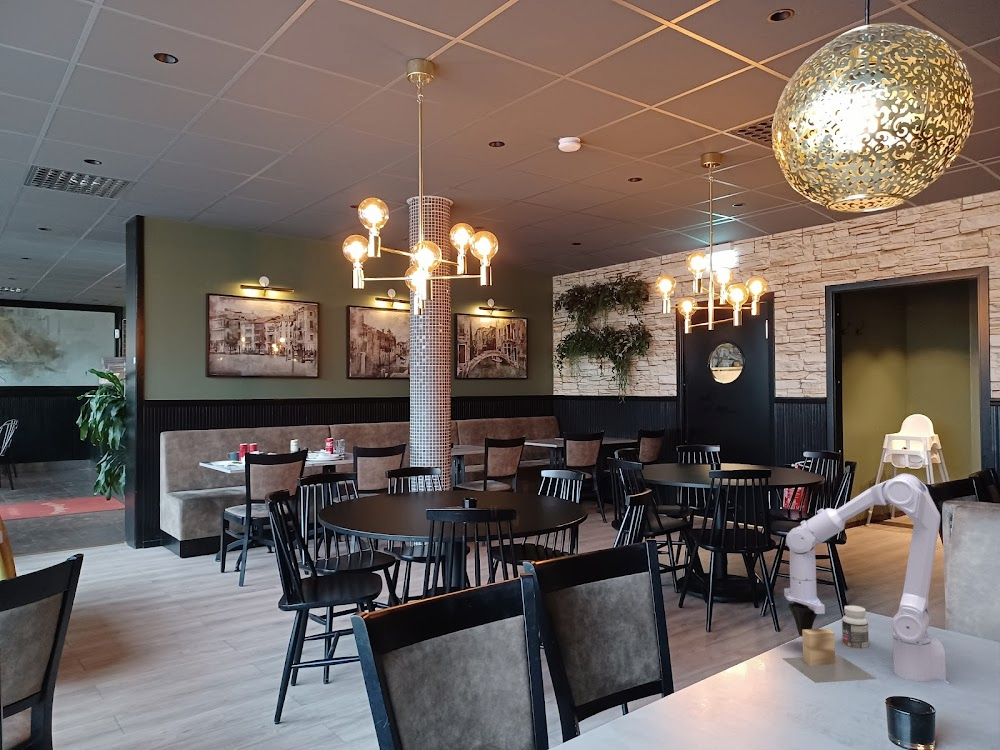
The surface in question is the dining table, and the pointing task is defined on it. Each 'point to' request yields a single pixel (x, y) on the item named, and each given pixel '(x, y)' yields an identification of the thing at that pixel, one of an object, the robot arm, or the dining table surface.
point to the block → (818, 646)
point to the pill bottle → (855, 627)
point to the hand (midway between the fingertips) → (804, 635)
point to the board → (830, 670)
